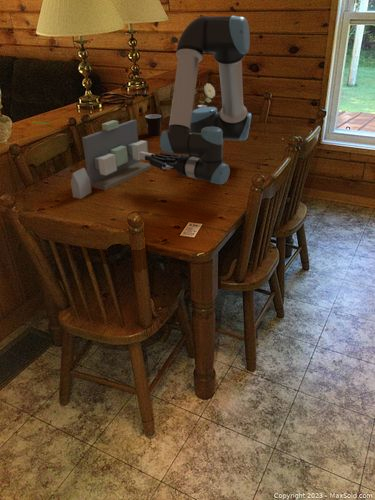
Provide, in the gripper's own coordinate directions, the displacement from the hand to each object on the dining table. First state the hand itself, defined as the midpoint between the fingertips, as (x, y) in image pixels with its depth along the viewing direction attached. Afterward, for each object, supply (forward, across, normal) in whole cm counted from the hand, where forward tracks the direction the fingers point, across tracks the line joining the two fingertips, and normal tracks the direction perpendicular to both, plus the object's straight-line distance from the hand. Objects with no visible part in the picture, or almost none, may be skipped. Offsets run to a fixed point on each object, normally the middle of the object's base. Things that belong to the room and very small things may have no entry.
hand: (141, 155), depth 172 cm
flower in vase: (+18, +74, -13) cm, 77 cm away
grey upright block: (+13, -22, -12) cm, 28 cm away
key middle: (+15, 0, -6) cm, 16 cm away
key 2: (+12, +10, -6) cm, 17 cm away
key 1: (+12, -10, -6) cm, 17 cm away
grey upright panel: (+16, 0, -12) cm, 19 cm away
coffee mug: (+38, +56, -13) cm, 69 cm away
